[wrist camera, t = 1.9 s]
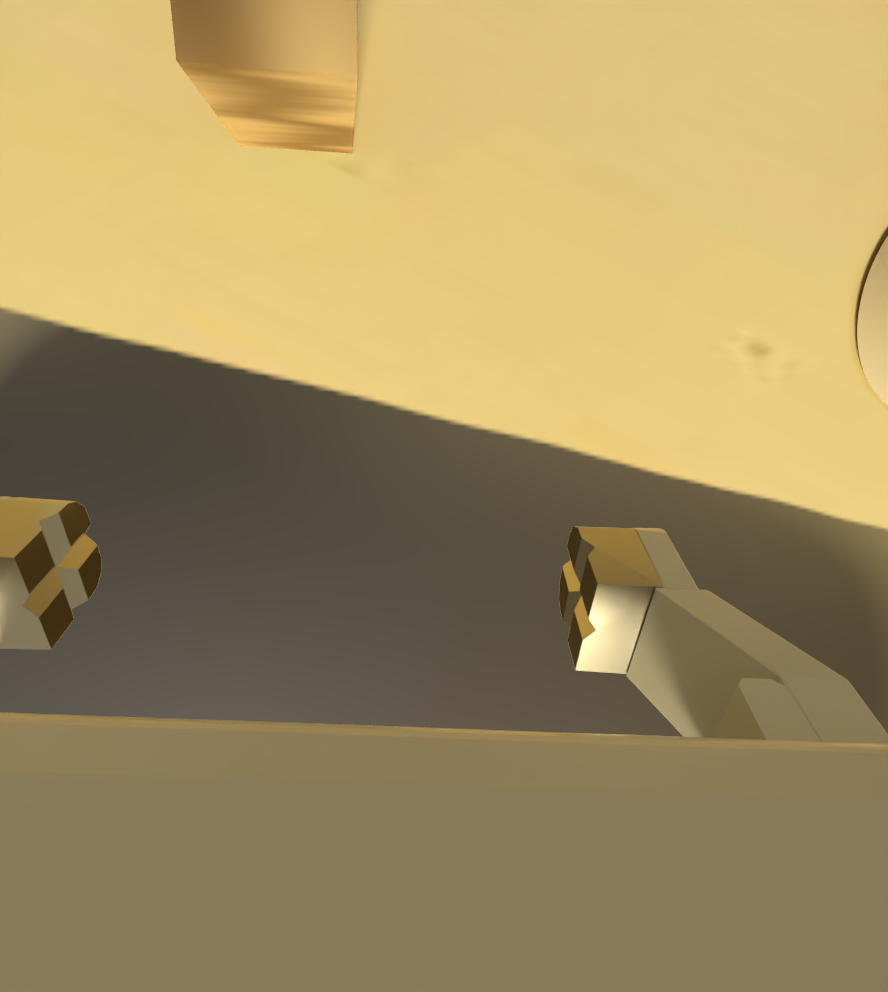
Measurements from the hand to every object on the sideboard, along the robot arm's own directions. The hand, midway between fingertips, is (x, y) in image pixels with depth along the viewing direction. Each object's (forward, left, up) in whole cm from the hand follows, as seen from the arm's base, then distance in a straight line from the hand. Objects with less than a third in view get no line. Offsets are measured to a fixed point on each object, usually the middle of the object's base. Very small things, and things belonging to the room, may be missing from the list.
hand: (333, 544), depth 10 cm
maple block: (+2, -13, -22) cm, 25 cm away
